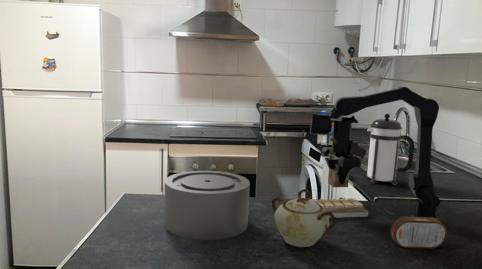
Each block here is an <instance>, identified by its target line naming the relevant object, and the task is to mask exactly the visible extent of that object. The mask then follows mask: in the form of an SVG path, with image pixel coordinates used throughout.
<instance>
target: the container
mask: <svg viewBox="0 0 482 269" xmlns="http://www.w3.org/2000/svg"><path fill="white" fill-rule="evenodd" d="M250 183H251V182H250V180H249V179H247V177H245V176H242V175H239V174H237V173H232V172H227V171H219V170H217V171H216V170H192V171H191V170H189V171H183V172H182V171H181V172H177V173H175V174H171V175H169V176H168V177H166V178H165V179H164V203H163V204H164V207H163V208H164V209H163V210H164V214H163V215H164V217H163V218H164V219H163V221H164V223H163V227H164V229H166V231H167V232H168V233H170V234H172V235H175V236H177V237H180V238H184V239H188V240H195V241H217V240H218V241H220V240H226V239H230V238H234V237H237V236H239V235H241V234H243V233H244V232H246V230H247V229H248V226H249V205H250V204H249V203H250V186H251V184H250Z"/></svg>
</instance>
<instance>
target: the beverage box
mask: <svg viewBox="0 0 482 269" xmlns="http://www.w3.org/2000/svg"><path fill="white" fill-rule="evenodd" d="M331 111H332V110H321V111H319V113H318V114H323V115H328V114H329V113H330V112H331ZM336 120H339V119H338V118H337V119H336ZM333 128H334V122H332V130H331V132H330V133H328V135H319V134H317V140H316V142H317V143H316V145H317V144H321V145H326V146H327V145H332V141H330V138H333Z"/></svg>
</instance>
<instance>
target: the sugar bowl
mask: <svg viewBox="0 0 482 269" xmlns="http://www.w3.org/2000/svg"><path fill="white" fill-rule="evenodd" d="M303 193H306V194H307V197H302V196H301V195H302V194H303ZM310 199H311V192H310V191H309V190H308V189H307V188H303V189H301V190H300V191H298V194H297V198H293V199H289V200H287V199H284V198H282V197H280V196H276V197H275V196H274V198H272V200H271V207H272V210H273V212H274V216H273V217H274V218H273V220H274V223H275V226H276V228H277V231H278V232H279V234H280V235H281V236H282V238H283V240H284V241H285V243H287V244H288V245H290V246H293V247H298V248H307V247H308V248H309V247H312V246H314V245H315V244H316V243H317V242H318V241H319V240H320V239H321V238H322V237H324V236H325V235H326V234H327V233H328V232H329V231H330V230H332V229H333V228H334V227H335V225H336V222H337V221H336V220H337V219H336V218H335V216H334V215H333V213H332V212H328V211H325V210H324V209H323V207H322V206H321V205H320V204H318V203H316V202H313V201H311V200H310ZM276 201H277V202H278V205H276ZM282 202H283V203H282ZM328 215H329V216H330V217H331V223H330V218H329V217H328Z"/></svg>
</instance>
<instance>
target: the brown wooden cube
mask: <svg viewBox="0 0 482 269" xmlns="http://www.w3.org/2000/svg"><path fill="white" fill-rule="evenodd" d="M349 182H350V171H349V172H348V175H347V177H346V179H345V182H344V184H343V185H340V183H339V179H338V174H337V170H336V168H335V169H329V168H328V175H327V184H328V185H330V186H331V187H333V188H349Z"/></svg>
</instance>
